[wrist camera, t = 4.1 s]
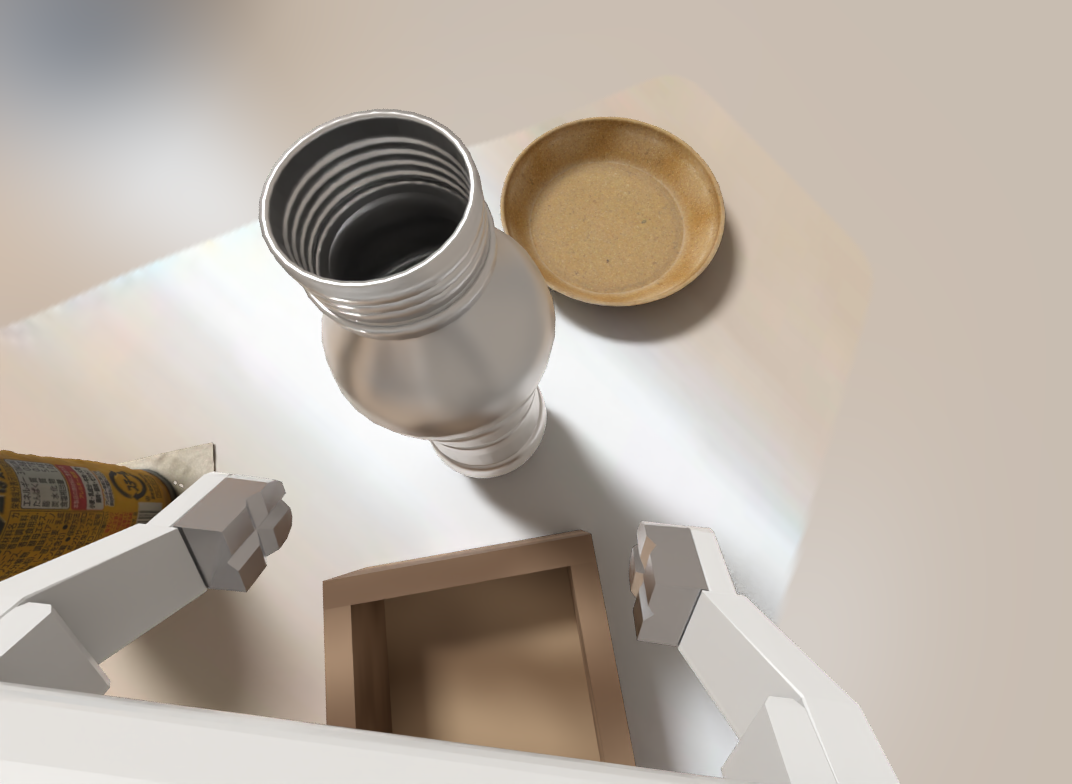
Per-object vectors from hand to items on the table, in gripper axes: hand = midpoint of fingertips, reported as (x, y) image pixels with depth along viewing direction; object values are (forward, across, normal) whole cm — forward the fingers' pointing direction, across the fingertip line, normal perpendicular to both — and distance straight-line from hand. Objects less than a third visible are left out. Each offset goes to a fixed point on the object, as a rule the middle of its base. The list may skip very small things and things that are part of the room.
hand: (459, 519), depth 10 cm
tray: (+5, 0, +17) cm, 18 cm away
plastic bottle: (+15, +2, +8) cm, 17 cm away
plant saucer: (+26, -4, -3) cm, 26 cm away
